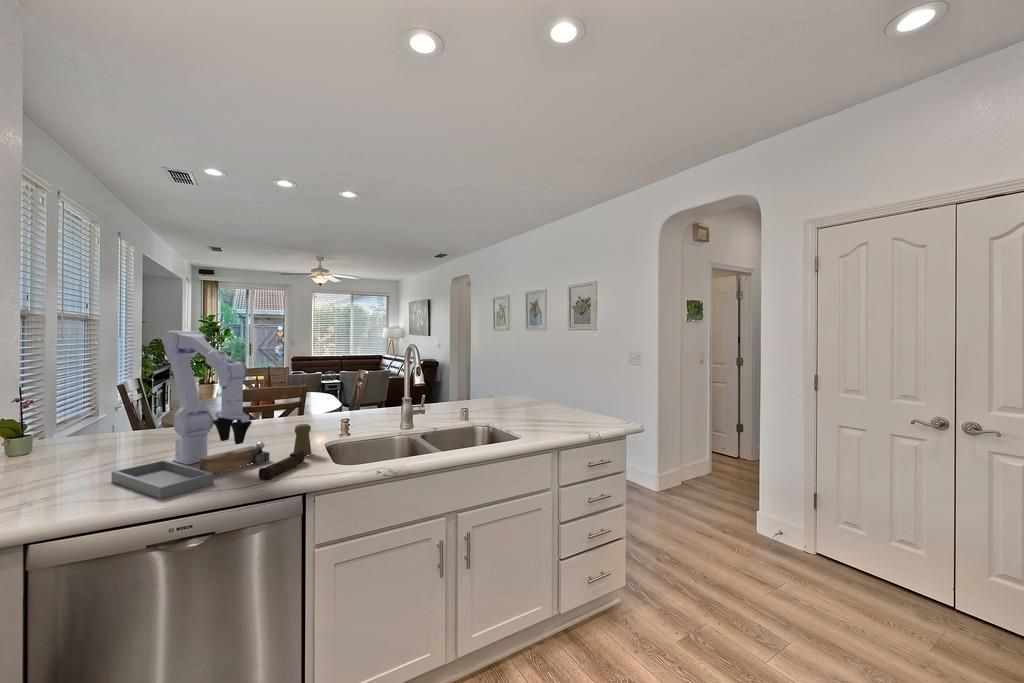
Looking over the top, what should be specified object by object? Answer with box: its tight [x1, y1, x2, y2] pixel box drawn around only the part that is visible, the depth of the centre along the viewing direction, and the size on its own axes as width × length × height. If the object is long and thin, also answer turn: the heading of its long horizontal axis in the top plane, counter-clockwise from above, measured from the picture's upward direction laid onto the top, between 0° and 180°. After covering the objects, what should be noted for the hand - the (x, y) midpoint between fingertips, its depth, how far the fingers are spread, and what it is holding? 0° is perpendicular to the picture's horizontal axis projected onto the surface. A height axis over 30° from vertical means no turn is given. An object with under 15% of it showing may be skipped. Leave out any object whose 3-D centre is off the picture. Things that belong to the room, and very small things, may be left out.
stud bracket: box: [252, 441, 270, 465], centre depth 144 cm, size 8×5×6 cm, turn 64°
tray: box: [111, 459, 215, 500], centre depth 122 cm, size 26×13×3 cm, turn 64°
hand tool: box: [258, 450, 305, 481], centre depth 136 cm, size 19×4×5 cm, turn 169°
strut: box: [199, 445, 259, 475], centre depth 137 cm, size 4×16×5 cm, turn 155°
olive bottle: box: [293, 423, 312, 457], centre depth 152 cm, size 6×6×11 cm
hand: (231, 442), depth 137 cm, fingers open, 7 cm apart
